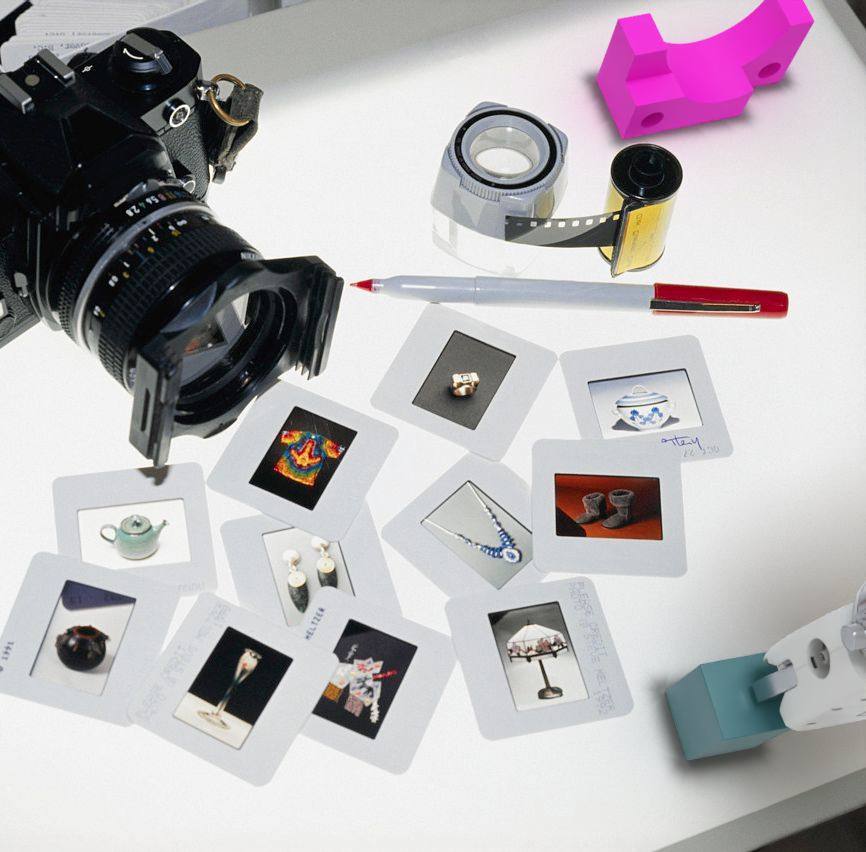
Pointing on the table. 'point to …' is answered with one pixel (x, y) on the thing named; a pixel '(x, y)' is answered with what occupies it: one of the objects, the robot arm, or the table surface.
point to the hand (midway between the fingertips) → (797, 699)
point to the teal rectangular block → (724, 707)
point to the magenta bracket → (696, 68)
